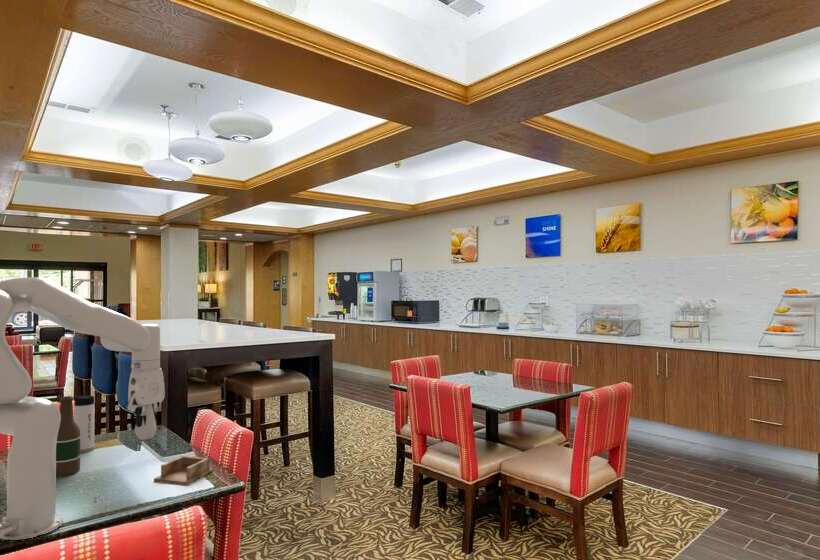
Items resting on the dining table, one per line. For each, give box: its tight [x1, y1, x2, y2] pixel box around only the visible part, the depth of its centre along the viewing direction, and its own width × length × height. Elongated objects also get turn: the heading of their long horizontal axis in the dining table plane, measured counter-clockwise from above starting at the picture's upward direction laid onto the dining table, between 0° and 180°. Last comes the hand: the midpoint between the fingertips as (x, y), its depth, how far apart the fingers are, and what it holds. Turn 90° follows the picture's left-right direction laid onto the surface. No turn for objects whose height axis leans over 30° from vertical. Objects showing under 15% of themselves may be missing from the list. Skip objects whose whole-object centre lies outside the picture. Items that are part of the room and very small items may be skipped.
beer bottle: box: [56, 395, 81, 478], centre depth 164 cm, size 8×8×24 cm
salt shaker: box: [134, 404, 158, 441], centre depth 153 cm, size 6×6×13 cm
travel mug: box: [72, 394, 96, 454], centre depth 187 cm, size 6×7×20 cm
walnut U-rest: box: [153, 455, 214, 486], centre depth 160 cm, size 12×12×4 cm
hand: (145, 426), depth 153 cm, fingers closed on salt shaker, 3 cm apart
